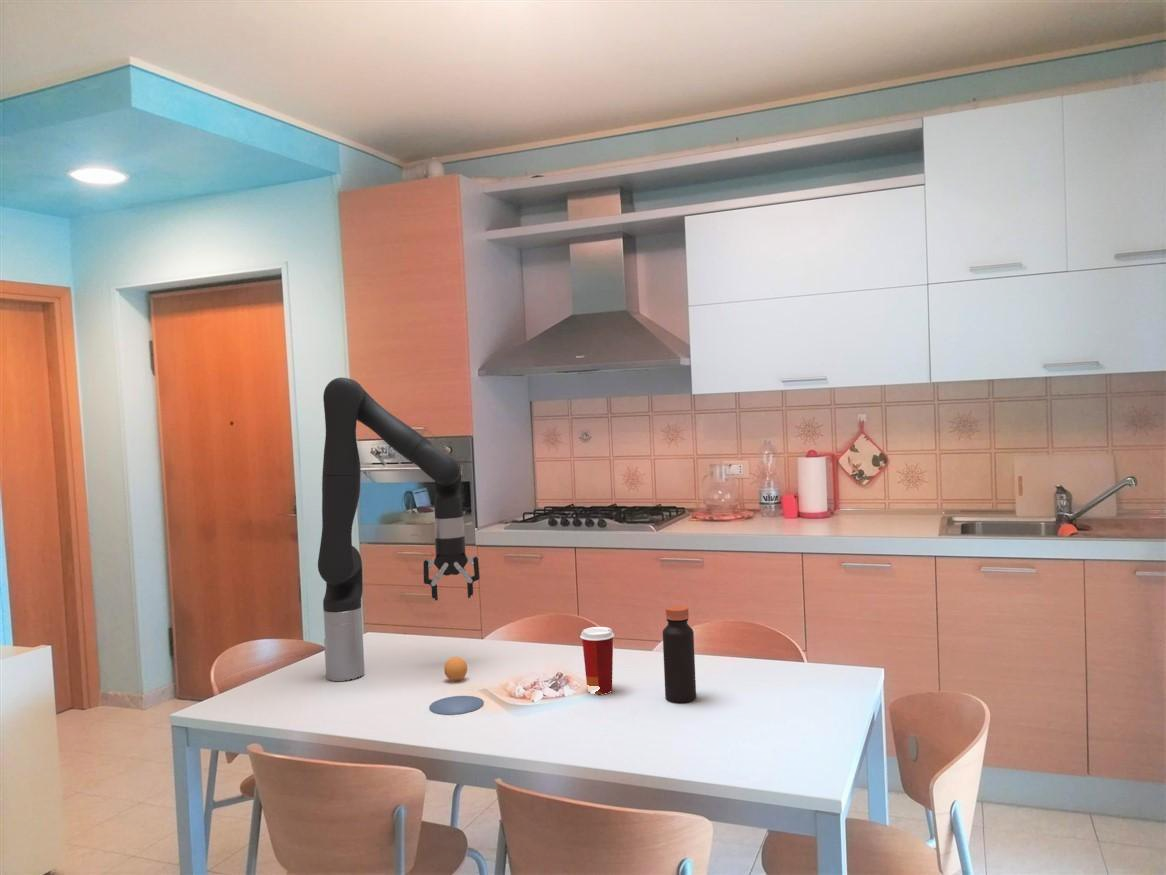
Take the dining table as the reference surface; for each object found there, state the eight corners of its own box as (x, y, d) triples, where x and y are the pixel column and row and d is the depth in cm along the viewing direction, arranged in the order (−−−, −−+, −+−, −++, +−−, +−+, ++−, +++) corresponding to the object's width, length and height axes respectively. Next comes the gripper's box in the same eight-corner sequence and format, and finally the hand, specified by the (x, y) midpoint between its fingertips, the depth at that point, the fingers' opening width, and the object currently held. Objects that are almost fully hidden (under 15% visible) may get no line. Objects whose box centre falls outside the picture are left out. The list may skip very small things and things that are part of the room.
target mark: (418, 707, 191) (418, 706, 191) (461, 693, 200) (461, 692, 200) (451, 718, 183) (451, 717, 183) (494, 703, 191) (494, 702, 191)
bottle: (695, 704, 185) (691, 611, 185) (663, 703, 187) (659, 611, 186) (697, 693, 192) (693, 604, 191) (667, 693, 193) (663, 604, 193)
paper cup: (617, 685, 200) (614, 625, 200) (615, 696, 193) (612, 634, 192) (584, 686, 201) (581, 626, 201) (580, 696, 193) (578, 634, 193)
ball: (440, 680, 210) (439, 658, 210) (458, 675, 214) (457, 652, 214) (454, 685, 206) (452, 662, 206) (472, 679, 210) (471, 656, 210)
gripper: (477, 531, 224) (480, 593, 224) (421, 534, 222) (424, 597, 222) (478, 535, 216) (481, 599, 217) (420, 538, 214) (423, 603, 215)
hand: (452, 598), depth 219 cm, fingers open, 8 cm apart
